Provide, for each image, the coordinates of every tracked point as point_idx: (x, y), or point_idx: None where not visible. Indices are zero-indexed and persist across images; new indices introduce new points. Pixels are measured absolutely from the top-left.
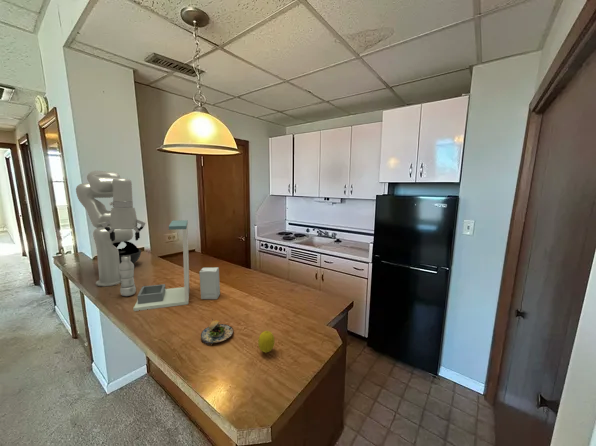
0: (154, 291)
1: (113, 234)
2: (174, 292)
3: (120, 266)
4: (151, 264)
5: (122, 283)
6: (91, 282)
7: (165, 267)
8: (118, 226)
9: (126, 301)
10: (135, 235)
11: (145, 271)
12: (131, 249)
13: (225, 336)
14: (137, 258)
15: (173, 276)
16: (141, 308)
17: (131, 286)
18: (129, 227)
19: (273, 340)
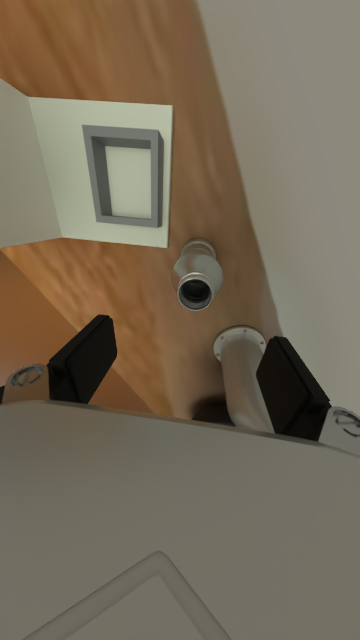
0: (130, 217)
1: (287, 394)
2: (82, 203)
3: (215, 265)
4: (171, 404)
5: (209, 251)
6: None
7: (143, 382)
8: (275, 508)
9: (199, 209)
10: (85, 341)
11: (177, 376)
12: None
13: None
14: (192, 418)
15: (118, 332)
16: (151, 106)
17: (187, 246)
18: (48, 430)
19: None
